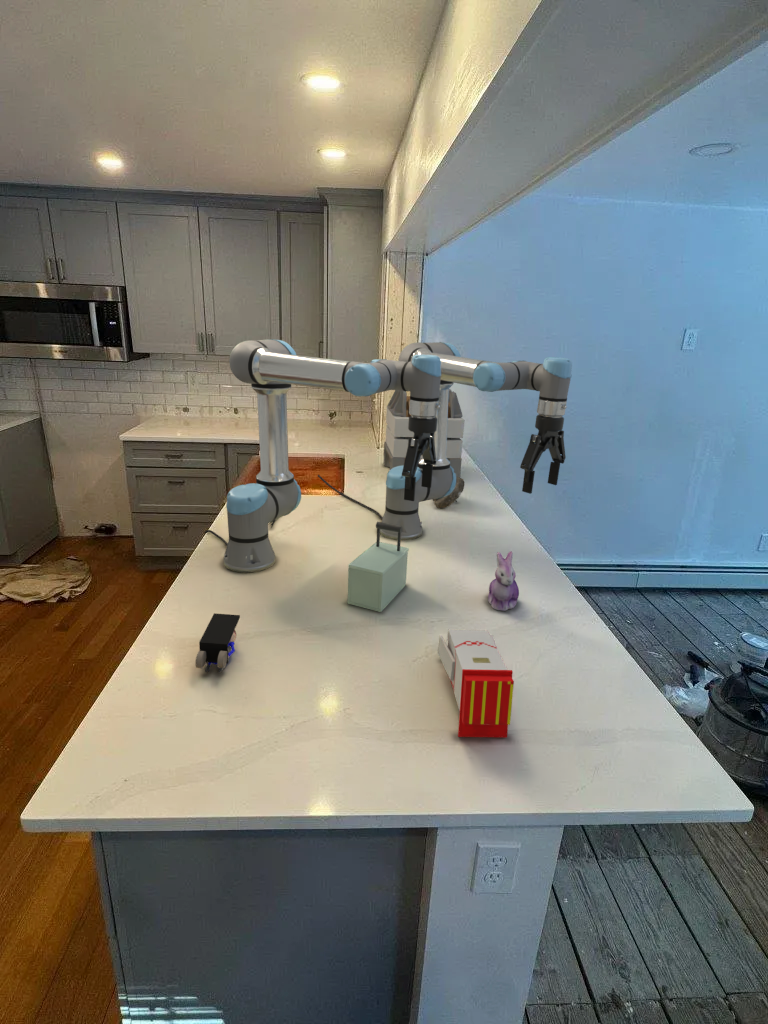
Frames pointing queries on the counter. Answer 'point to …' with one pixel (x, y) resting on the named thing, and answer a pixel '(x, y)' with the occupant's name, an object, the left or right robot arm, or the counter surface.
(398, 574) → the chest
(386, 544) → the lid
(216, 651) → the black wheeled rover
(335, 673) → the counter surface
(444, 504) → the fossil
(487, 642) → the toy
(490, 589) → the figurine
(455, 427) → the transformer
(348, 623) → the counter surface
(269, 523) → the feather
